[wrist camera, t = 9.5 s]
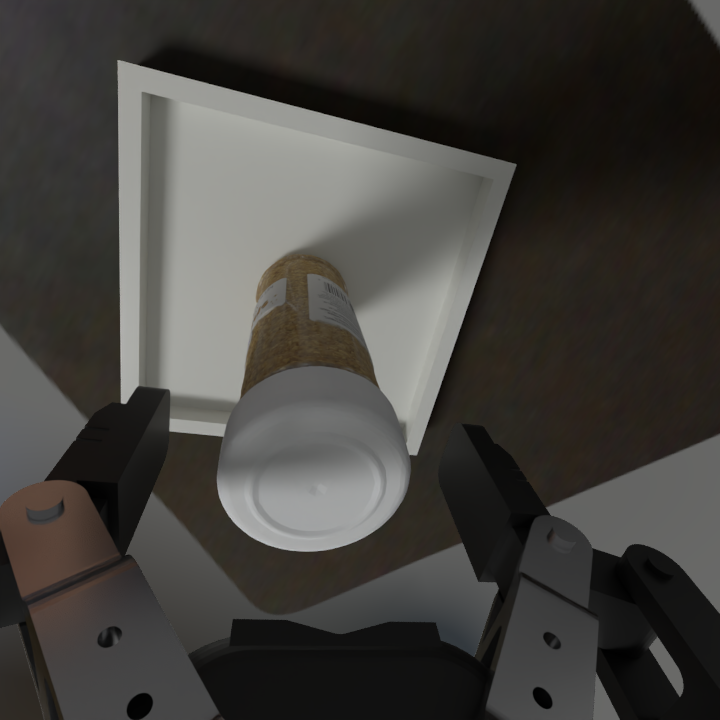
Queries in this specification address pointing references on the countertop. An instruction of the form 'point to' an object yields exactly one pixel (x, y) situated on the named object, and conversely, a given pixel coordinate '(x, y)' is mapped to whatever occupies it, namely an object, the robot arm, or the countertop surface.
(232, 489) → the sprinkles bottle
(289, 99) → the countertop surface
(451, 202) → the tray
